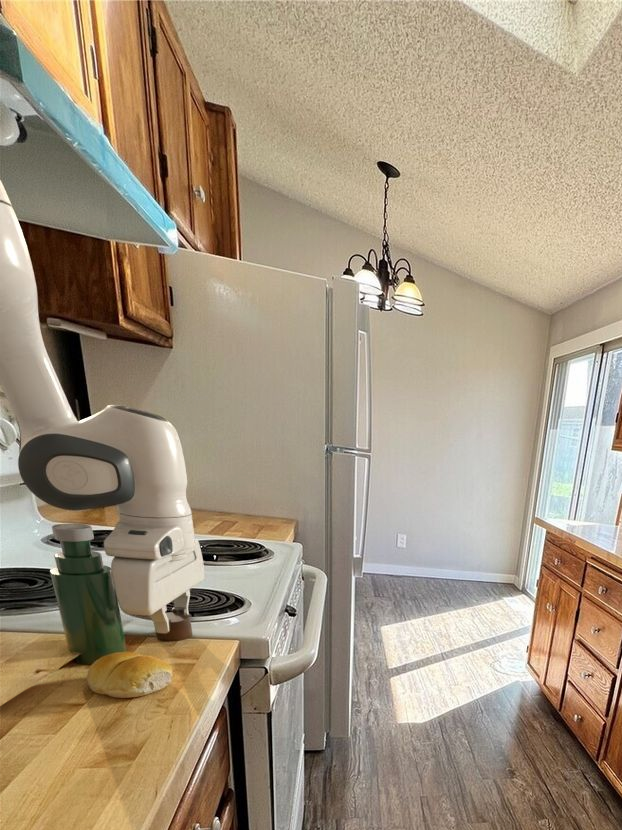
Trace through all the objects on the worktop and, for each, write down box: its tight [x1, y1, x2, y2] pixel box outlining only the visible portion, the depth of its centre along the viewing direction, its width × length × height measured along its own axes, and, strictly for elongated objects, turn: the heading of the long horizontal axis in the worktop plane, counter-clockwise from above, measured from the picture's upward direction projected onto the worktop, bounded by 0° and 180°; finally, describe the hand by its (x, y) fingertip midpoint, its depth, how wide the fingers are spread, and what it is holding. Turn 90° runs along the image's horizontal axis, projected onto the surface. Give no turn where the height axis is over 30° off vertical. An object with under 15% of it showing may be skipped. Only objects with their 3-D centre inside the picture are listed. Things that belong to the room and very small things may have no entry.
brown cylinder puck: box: [155, 611, 193, 642], centre depth 85 cm, size 5×5×3 cm
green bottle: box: [49, 523, 128, 665], centre depth 73 cm, size 6×6×18 cm
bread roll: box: [86, 651, 173, 699], centre depth 69 cm, size 8×9×4 cm
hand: (173, 625), depth 85 cm, fingers closed on brown cylinder puck, 5 cm apart
